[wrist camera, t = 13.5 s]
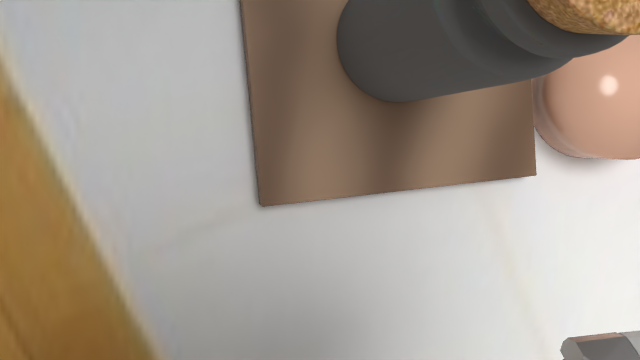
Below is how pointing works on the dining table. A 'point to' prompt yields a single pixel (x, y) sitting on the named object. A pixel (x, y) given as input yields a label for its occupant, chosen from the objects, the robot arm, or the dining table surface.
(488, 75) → the bottle
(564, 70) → the peach dome knob
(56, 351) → the dining table surface
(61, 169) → the dining table surface
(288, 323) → the dining table surface
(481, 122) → the board
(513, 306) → the dining table surface
